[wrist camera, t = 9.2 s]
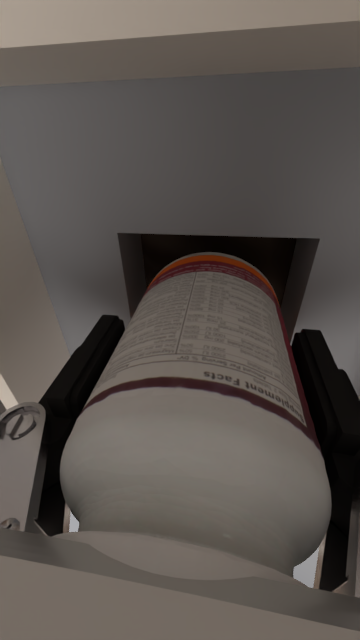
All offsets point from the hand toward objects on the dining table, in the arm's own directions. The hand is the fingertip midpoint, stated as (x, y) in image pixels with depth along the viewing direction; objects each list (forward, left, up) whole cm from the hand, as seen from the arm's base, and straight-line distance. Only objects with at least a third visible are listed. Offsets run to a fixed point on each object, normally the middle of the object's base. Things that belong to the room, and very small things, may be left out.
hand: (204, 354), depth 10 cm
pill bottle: (0, 0, -3) cm, 3 cm away
